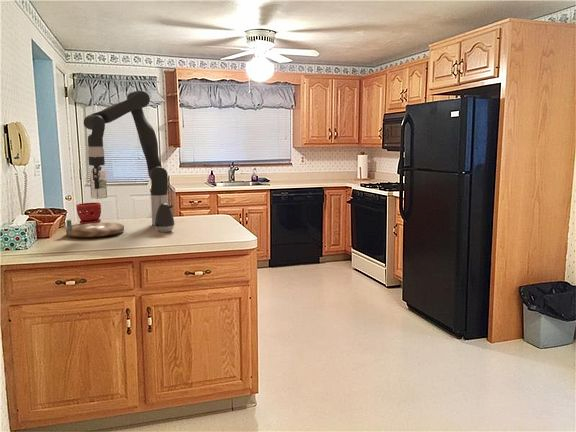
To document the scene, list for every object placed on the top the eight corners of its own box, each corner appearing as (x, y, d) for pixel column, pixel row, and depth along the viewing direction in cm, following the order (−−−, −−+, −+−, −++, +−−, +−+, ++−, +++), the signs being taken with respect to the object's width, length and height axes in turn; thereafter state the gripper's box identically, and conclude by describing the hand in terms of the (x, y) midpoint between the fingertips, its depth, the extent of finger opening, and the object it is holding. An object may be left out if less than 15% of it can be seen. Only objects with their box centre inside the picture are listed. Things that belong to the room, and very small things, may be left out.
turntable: (119, 224, 264) (118, 212, 263) (128, 233, 240) (128, 219, 239) (64, 229, 250) (63, 216, 249) (68, 239, 226) (67, 225, 225)
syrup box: (101, 197, 245) (99, 169, 243) (107, 197, 241) (105, 169, 239) (90, 198, 241) (89, 169, 238) (97, 199, 237) (95, 170, 235)
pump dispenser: (170, 233, 245) (168, 204, 243) (151, 233, 248) (150, 204, 245) (178, 230, 255) (177, 202, 253) (160, 229, 257) (159, 201, 255)
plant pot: (106, 221, 280) (104, 201, 278) (95, 226, 267) (93, 205, 265) (85, 221, 281) (83, 201, 279) (73, 225, 268) (71, 204, 266)
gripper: (90, 155, 243) (92, 186, 246) (86, 156, 230) (88, 189, 232) (105, 155, 245) (107, 186, 248) (102, 156, 232) (104, 189, 234)
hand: (98, 187), depth 240 cm, fingers closed on syrup box, 7 cm apart
